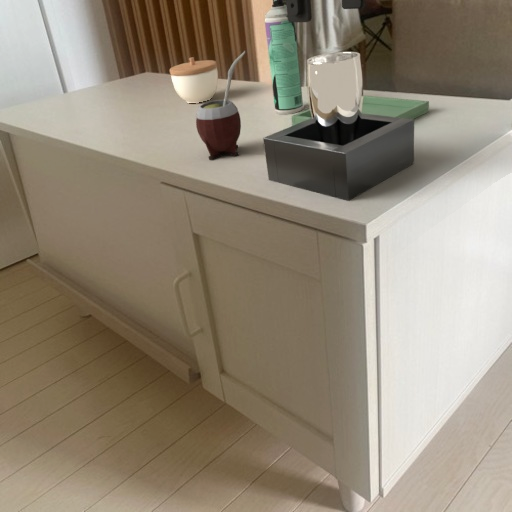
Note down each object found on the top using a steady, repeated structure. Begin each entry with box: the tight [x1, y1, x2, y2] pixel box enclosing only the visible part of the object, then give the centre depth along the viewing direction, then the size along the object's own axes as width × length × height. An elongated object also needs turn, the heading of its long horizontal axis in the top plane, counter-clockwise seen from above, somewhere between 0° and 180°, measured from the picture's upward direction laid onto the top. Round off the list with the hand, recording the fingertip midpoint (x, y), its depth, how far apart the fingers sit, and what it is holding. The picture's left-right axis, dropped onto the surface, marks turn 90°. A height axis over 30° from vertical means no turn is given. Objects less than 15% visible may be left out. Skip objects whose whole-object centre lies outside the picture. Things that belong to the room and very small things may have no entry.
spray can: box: [264, 0, 304, 115], centre depth 101 cm, size 6×6×20 cm
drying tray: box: [290, 94, 430, 126], centre depth 94 cm, size 18×16×2 cm
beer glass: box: [306, 51, 364, 146], centre depth 70 cm, size 7×7×15 cm
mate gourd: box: [195, 50, 246, 161], centre depth 84 cm, size 8×8×15 cm
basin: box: [262, 113, 415, 202], centre depth 72 cm, size 14×14×6 cm
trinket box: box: [169, 56, 219, 104], centre depth 122 cm, size 11×11×9 cm
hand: (327, 14), depth 64 cm, fingers open, 9 cm apart
